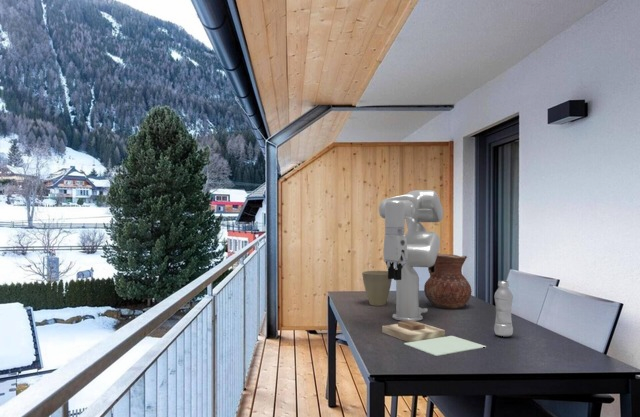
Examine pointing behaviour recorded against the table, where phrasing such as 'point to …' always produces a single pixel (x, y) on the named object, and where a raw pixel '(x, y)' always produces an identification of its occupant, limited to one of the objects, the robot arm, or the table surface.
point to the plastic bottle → (503, 310)
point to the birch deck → (413, 333)
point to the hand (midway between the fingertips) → (394, 278)
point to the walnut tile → (411, 325)
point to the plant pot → (377, 286)
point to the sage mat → (444, 345)
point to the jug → (447, 282)
